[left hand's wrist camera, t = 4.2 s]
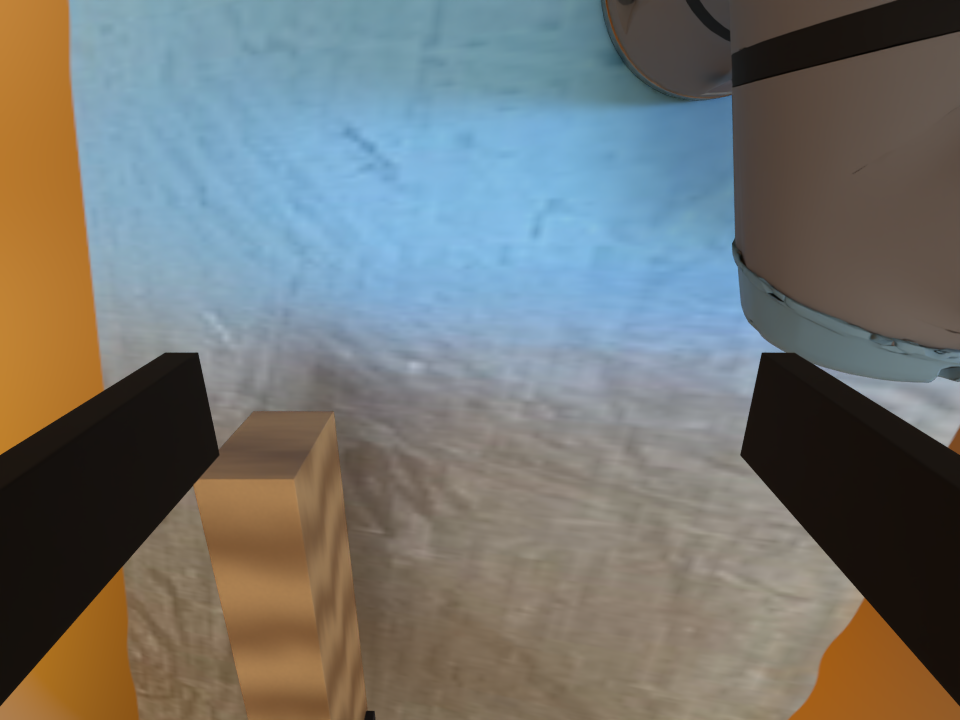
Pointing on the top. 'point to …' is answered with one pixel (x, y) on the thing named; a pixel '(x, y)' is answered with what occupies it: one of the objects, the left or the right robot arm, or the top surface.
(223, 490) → the bar
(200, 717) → the top surface
